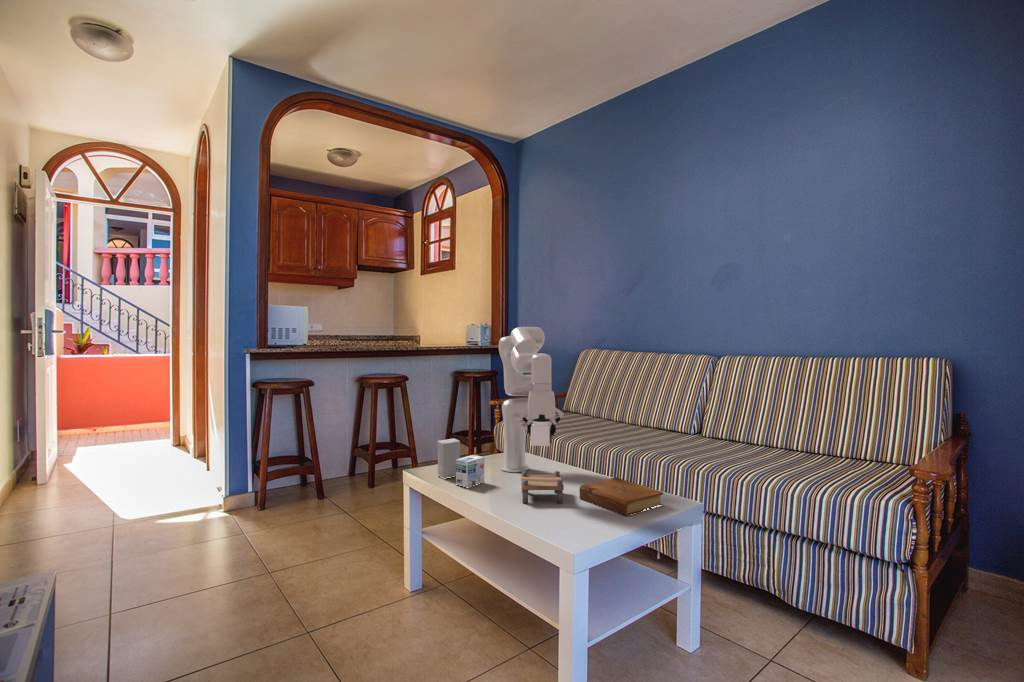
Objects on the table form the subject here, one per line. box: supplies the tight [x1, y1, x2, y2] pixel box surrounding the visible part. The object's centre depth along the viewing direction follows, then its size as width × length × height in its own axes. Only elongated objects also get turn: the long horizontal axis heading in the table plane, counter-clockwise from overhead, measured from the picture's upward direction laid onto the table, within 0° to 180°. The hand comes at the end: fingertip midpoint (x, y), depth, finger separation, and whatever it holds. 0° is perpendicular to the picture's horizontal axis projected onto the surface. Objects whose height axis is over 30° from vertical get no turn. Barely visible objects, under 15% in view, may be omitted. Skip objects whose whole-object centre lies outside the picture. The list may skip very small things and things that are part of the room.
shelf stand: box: [520, 470, 565, 505], centre depth 196 cm, size 15×15×8 cm
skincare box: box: [437, 438, 461, 478], centre depth 225 cm, size 8×7×16 cm
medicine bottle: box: [530, 414, 553, 447], centre depth 195 cm, size 7×7×12 cm
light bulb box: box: [455, 454, 485, 488], centre depth 214 cm, size 11×7×11 cm, turn 143°
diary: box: [579, 477, 664, 517], centre depth 190 cm, size 23×19×6 cm
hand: (541, 434), depth 195 cm, fingers closed on medicine bottle, 7 cm apart
